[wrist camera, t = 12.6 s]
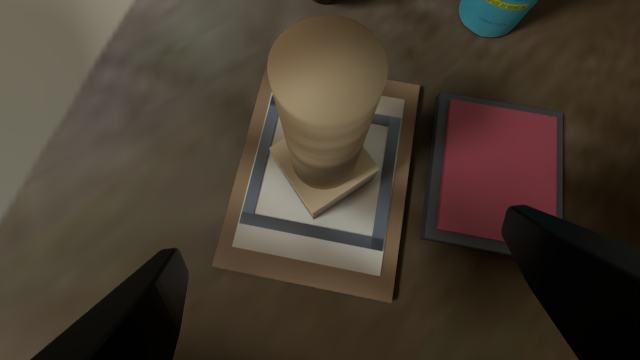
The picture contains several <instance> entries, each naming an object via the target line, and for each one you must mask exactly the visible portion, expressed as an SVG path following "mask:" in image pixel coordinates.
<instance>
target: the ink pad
mask: <svg viewBox="0 0 640 360" xmlns="http://www.w3.org/2000/svg"><path fill="white" fill-rule="evenodd" d="M514 205H528V206H530V207H533V208H535V209H538V210H540V211H543V212H545V213H548V214H551V215H553V216H556V217H558V218H561V219H563V113H562V112H556V111H550V110H544V109H538V108H533V107H527V106H521V105H515V104H509V103H504V102H498V101H492V100H486V99H480V98H475V97H469V96H463V95H457V94H451V93H445V92H440V93H439V95H438V96H437V98H436V103H435V112H434V121H433V129H432V138H431V147H430V156H429V165H428V173H427V182H426V191H425V200H424V209H423V217H422V226H421V235H420V239H424V240H429V241H434V242H439V243H445V244H450V245H455V246H460V247H465V248H470V249H475V250H481V251H486V252H491V253H496V254H501V255H506V256H511V257H513V256H512V254H511V252H510V251H509V249H508V247H507V245H506V243H505V241H504V239H503V237H502V234H501V228H502V224H503V221H504V217H505V213H506V210H507V208H508V207H510V206H514Z"/></svg>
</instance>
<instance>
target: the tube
mask: <svg viewBox="0 0 640 360" xmlns="http://www.w3.org/2000/svg"><path fill="white" fill-rule="evenodd" d="M537 1H538V0H461V2H460V5H459V14H460V18H461V21H462V22H463V24H464V25H465V26H466V27H467V28H468V29H470V30H471V31H472V32H474V33H476V34H477V35H479V36H483V37H491V38H492V37H499V36H503V35H505V34H507V33H508V32H510V31H511V30H512V29H513V28H514V27H515V26H516V25H517V24H518V23H519V21H520V20H521V19H522V18H523V17H524V16H525V15H526V14H527V12H528V11H529V10H530V9H531V8H532V7H533V6H534V5H535V4H536V2H537Z"/></svg>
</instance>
